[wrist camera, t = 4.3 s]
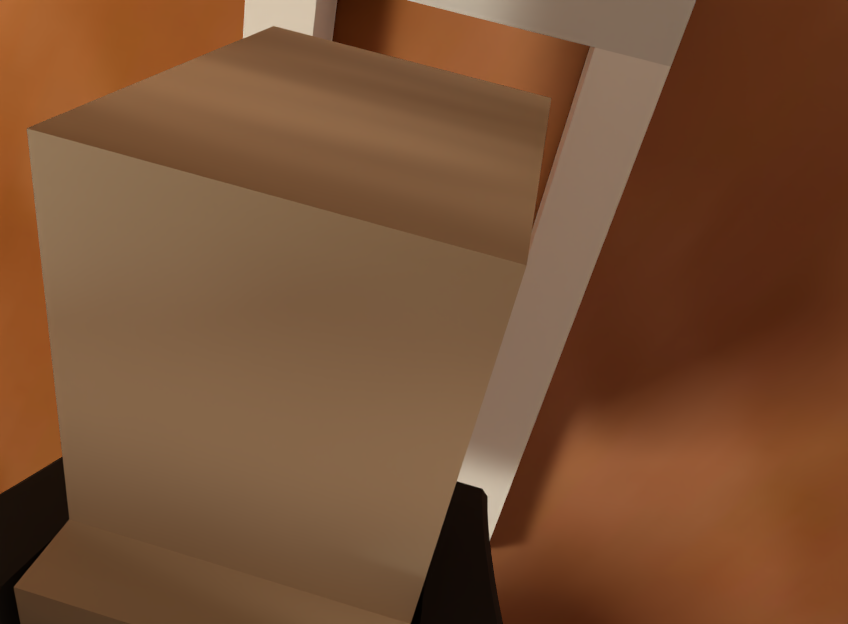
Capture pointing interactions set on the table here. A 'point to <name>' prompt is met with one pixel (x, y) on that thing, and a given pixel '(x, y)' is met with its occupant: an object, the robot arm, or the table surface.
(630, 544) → the table surface
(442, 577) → the robot arm
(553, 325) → the jig
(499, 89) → the tan stepped block
